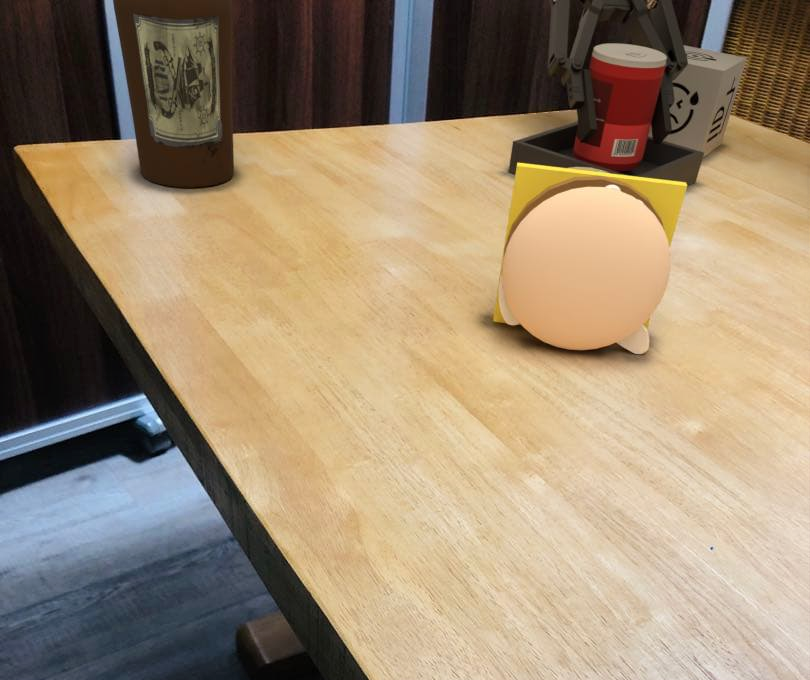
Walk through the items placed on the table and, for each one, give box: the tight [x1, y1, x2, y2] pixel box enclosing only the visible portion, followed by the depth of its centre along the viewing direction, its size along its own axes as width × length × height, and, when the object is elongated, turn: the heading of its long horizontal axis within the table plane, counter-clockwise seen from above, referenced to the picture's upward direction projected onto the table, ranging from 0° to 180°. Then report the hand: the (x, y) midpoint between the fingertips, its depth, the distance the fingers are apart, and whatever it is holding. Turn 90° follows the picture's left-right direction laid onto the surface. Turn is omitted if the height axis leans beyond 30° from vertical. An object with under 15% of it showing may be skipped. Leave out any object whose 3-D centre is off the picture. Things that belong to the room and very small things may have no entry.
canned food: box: [574, 42, 667, 172], centre depth 94 cm, size 8×8×11 cm
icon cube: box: [648, 44, 748, 158], centre depth 108 cm, size 10×10×10 cm
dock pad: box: [508, 120, 704, 187], centre depth 97 cm, size 16×16×3 cm
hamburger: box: [492, 163, 688, 355], centre depth 64 cm, size 12×8×12 cm
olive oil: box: [112, 0, 235, 189], centre depth 81 cm, size 11×11×25 cm
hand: (625, 136), depth 92 cm, fingers closed on canned food, 8 cm apart
